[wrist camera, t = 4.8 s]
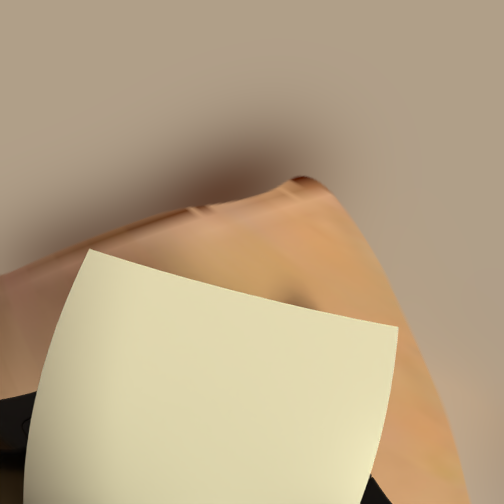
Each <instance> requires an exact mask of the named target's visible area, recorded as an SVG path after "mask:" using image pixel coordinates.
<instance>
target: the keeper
mask: <svg viewBox="0 0 504 504" xmlns="http://www.w3.org/2000/svg"><path fill="white" fill-rule="evenodd" d="M397 338H398V327H395V326H390V325H384V324H379V323H374V322H369V321H364V320H359V319H354V318H349V317H345V316H340V315H335V314H330V313H326V312H321V311H317V310H312V309H308V308H303V307H299V306H295V305H290V304H286V303H282V302H278V301H273V300H269V299H265V298H261V297H257V296H253V295H249V294H245V293H241V292H237V291H233V290H229V289H226V288H222V287H218V286H214V285H210V284H207V283H203V282H199V281H196V280H192V279H188V278H185V277H181V276H178V275H174V274H171V273H167V272H164V271H160V270H157V269H153V268H150V267H147V266H143V265H140V264H137V263H133V262H130V261H127V260H123V259H120V258H117V257H114V256H111V255H107V254H104V253H101V252H98V251H95V250H92V249H89V251H88V253H87V255H86V257H85V259H84V261H83V263H82V266H81V268H80V270H79V272H78V274H77V276H76V279H75V281H74V283H73V286H72V288H71V290H70V293H69V295H68V297H67V300H66V302H65V305H64V307H63V310H62V313H61V315H60V318H59V321H58V323H57V326H56V329H55V332H54V335H53V338H52V341H51V344H50V347H49V350H48V353H47V356H46V360H45V363H44V367H43V370H42V374H41V378H40V381H39V385H38V389H37V394H36V398H35V403H34V407H33V412H32V417H31V423H30V429H29V435H28V442H27V450H26V459H25V471H24V493H23V504H360V502H361V499H362V496H363V493H364V491H365V488H366V485H367V482H368V479H369V476H370V473H371V470H372V466H373V463H374V460H375V456H376V453H377V449H378V445H379V442H380V438H381V434H382V429H383V425H384V421H385V416H386V411H387V406H388V401H389V396H390V390H391V384H392V378H393V371H394V364H395V356H396V348H397Z"/></svg>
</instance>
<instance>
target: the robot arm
mask: <svg viewBox="0 0 504 504" xmlns="http://www.w3.org/2000/svg"><path fill="white" fill-rule="evenodd" d="M36 394H37V391H36V392H32V393H29V394H25V395H21V396H17V397H12V398H7V399H2V400H0V504H23V493H24V471H25V459H26V450H27V442H28V435H29V429H30V423H31V417H32V412H33V407H34V403H35V398H36ZM371 476H372V475H371V473H370V476H369V479H368V482H367V485H366V488H365V491H364V493H363V496H362V499H361V502H360V504H392V503H391V502H390V501H389V499H388V498H387V497H386V495H385V494H384V492H383V491H382V490H381V488H380V487H379V485H378V484H377V482H376V481H375V479H374V478H373V477H371Z"/></svg>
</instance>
